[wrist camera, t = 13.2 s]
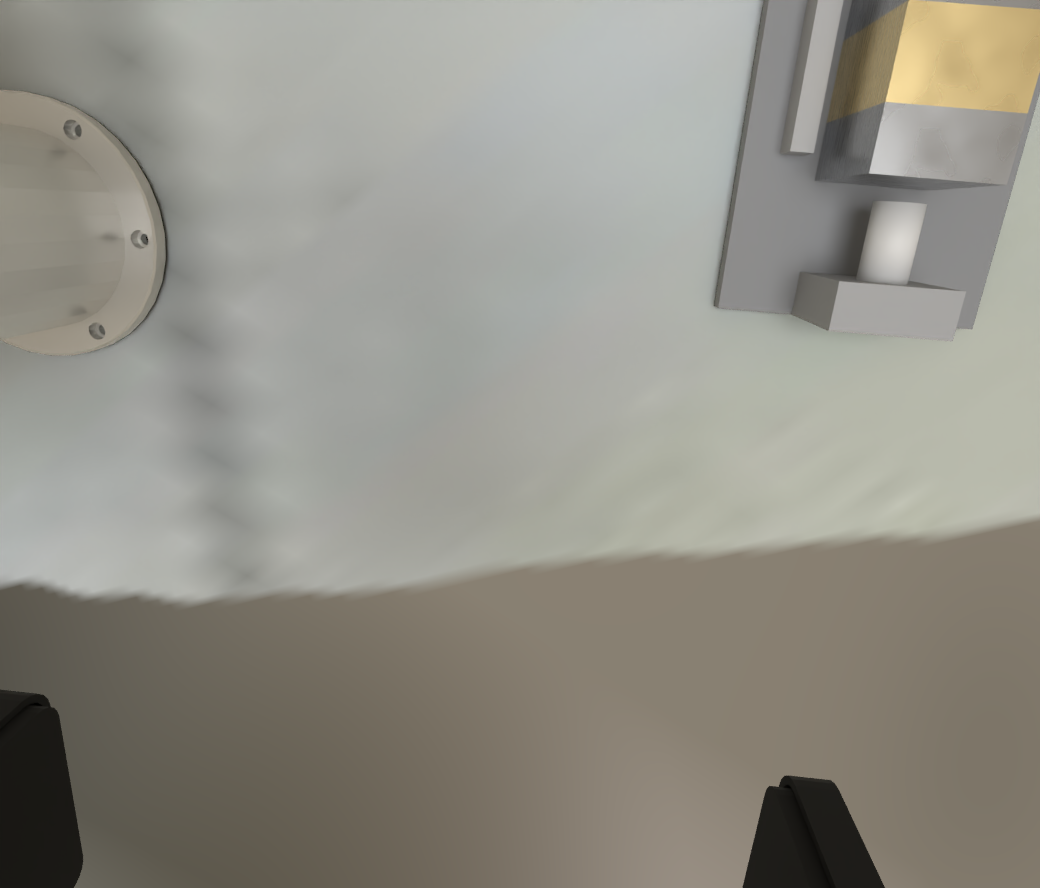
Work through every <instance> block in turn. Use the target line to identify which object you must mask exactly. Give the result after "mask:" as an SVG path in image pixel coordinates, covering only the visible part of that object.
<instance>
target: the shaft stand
mask: <svg viewBox="0 0 1040 888" xmlns="http://www.w3.org/2000/svg"><path fill="white" fill-rule="evenodd" d="M851 2H852V0H764V3H763V9H762V15H761V21H760V27H759V33H758V40H757V46H756V52H755V58H754V64H753V70H752V76H751V82H750V89H749V95H748V101H747V107H746V113H745V119H744V125H743V132H742V138H741V144H740V150H739V156H738V162H737V168H736V175H735V181H734V187H733V193H732V199H731V205H730V211H729V218H728V224H727V230H726V236H725V242H724V248H723V254H722V261H721V267H720V273H719V279H718V285H717V291H716V297H715V304H714V306H716V307H717V308H722V309H734V310H746V311H758V312H770V313H782V314H792V315H794V316H797V317H799V318H801V319H803V320H806V321H808V322H810V323H812V324H814V325H817V326H819V327H821V328H823V329H826V330H828V331H837V332H849V333H861V334H872V335H884V336H896V337H908V338H920V339H932V340H944V341H953V338H954V334H955V331H956V328H961V329H973V325H974V322H975V318H976V315H977V311H978V307H979V304H980V300H981V297H982V293H983V290H984V286H985V283H986V279H987V276H988V272H989V269H990V265H991V262H992V258H993V255H994V251H995V248H996V244H997V241H998V237H999V234H1000V230H1001V227H1002V223H1003V220H1004V216H1005V212H1006V209H1007V205H1008V202H1009V198H1010V195H1011V191H1012V188H1013V184H1014V181H1015V177H1016V174H1017V170H1018V167H1019V163H1020V160H1021V156H1022V153H1023V149H1024V146H1025V142H1026V139H1027V135H1028V132H1029V128H1030V125H1031V121H1032V118H1033V114H1034V110H1035V107H1036V103H1037V100H1038V96H1039V93H1040V73H1039V76H1038V79H1037V83H1036V86H1035V90H1034V93H1033V97H1032V100H1031V103H1030V107H1029V110H1028V114H1027V117H1026V121H1025V124H1024V128H1023V131H1022V134H1021V138H1020V141H1019V145H1018V148H1017V152H1016V155H1015V158H1014V162H1013V165H1012V169H1011V172H1010V176H1009V179H1008V182H1007V185H1001V186H986V187H972V188H957V189H943V190H929V191H925V190H913V189H902V188H890V187H879V186H867V185H855V184H844V183H832V182H821V181H815V176H816V171H817V166H818V161H819V157H820V152H821V147H822V142H823V137H824V132H825V128H826V123H827V118H828V113H829V108H830V104H831V99H832V94H833V89H834V84H835V79H836V75H837V70H838V65H839V60H840V55H841V50H842V46H843V41H844V36H845V31H846V26H847V21H848V17H849V12H850V7H851Z"/></svg>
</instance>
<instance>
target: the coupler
mask: <svg viewBox="0 0 1040 888" xmlns="http://www.w3.org/2000/svg"><path fill="white" fill-rule="evenodd" d="M1039 73H1040V0H852V2H851V7H850V12H849V17H848V21H847V26H846V31H845V36H844V41H843V46H842V50H841V55H840V60H839V65H838V70H837V75H836V79H835V84H834V89H833V94H832V99H831V104H830V108H829V113H828V118H827V123H826V128H825V132H824V137H823V142H822V147H821V152H820V157H819V161H818V166H817V171H816V176H815V181H821V182H832V183H844V184H855V185H867V186H879V187H890V188H902V189H913V190H925V191H929V190H943V189H957V188H972V187H986V186H1001V185H1007V182H1008V179H1009V176H1010V172H1011V169H1012V165H1013V162H1014V158H1015V155H1016V152H1017V148H1018V145H1019V141H1020V138H1021V134H1022V131H1023V128H1024V124H1025V121H1026V117H1027V114H1028V110H1029V107H1030V103H1031V100H1032V97H1033V93H1034V90H1035V86H1036V83H1037V79H1038V76H1039Z"/></svg>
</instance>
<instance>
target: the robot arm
mask: <svg viewBox="0 0 1040 888" xmlns="http://www.w3.org/2000/svg"><path fill="white" fill-rule="evenodd" d="M81 130H82V133H81ZM146 235H147V238H148V242H147V240H146ZM165 261H166V251H165V233H164V228H163V223H162V219H161V214H160V210H159V207H158V204H157V202H156V199H155V197H154V194H153V192H152V189H151V187H150V184H149V182H148V181H147V179H146V177H145V176H144V174H143V172H142V171H141V169H140V167H139V166H138V164H137V162H136V160H135V159H134V158H133V157H132V156H131V154H130V153H129V152H128V151H127V150H126V148H125V147H124V146H123V145H122V144H121V142H120V141H119V140H118V139H117V138H116V137H115V136H114V135H113V134H111V133H110V132H109V131H108V130H107V129H106V128H105V127H103V126H102V125H101V124H100V123H99V122H98V121H96V120H95V119H93V118H92V117H90V116H88V115H87V114H85V113H83V112H82V111H80V110H79V109H77V108H75V107H74V106H71V105H68V104H66V103H63V102H61V101H58V100H56V99H53V98H51V97H47V96H42V95H37V94H33V93H29V92H25V91H12V90H0V340H2V341H4V342H5V343H7V344H10V345H13V346H15V347H18V348H21V349H24V350H26V351H29V352H34V353H40V354H45V355H51V356H61V355H77V354H81V353H86V352H91V351H94V350H97V349H100V348H103V347H106V346H109V345H112V344H114V343H115V342H117V341H119V340H120V339H122V338H124V337H125V336H127V335H129V334H130V333H131V332H132V331H133V330H134V329H135V328H136V327H137V326H138V325H139V324H140V323H141V322H142V321H143V320H144V319H145V317H146V315H147V314H148V312H149V311H150V309H151V308H152V306H153V304H154V303H155V301H156V298H157V295H158V292H159V290H160V287H161V284H162V281H163V274H164V267H165ZM82 865H83V854H82V848H81V842H80V836H79V830H78V824H77V818H76V812H75V807H74V801H73V795H72V789H71V783H70V777H69V772H68V766H67V760H66V754H65V748H64V742H63V736H62V731H61V725H60V719H59V715H58V712H57V710H55V708H52V707H51V706H50V703H49V701H48V699H47V698H46V697H45V696H44V695H40V694H34V693H25V692H16V691H7V690H0V888H74V886H75V884H76V883H77V880H78V878H79V876H80V873H81V870H82ZM743 888H885V887H884V885H883V883H882V881H881V879H880V876H879V874H878V872H877V870H876V868H875V866H874V864H873V862H872V859H871V857H870V855H869V853H868V851H867V849H866V847H865V845H864V842H863V840H862V839H861V836H860V834H859V832H858V830H857V828H856V826H855V823H854V821H853V819H852V817H851V815H850V813H849V811H848V808H847V806H846V804H845V802H844V800H843V798H842V796H841V794H840V791H839V790H838V788H837V786H836V785H835V783H833V782H832V781H831V780H823V779H814V778H804V777H795V776H784V777H783V778H782V779H781V782H780V785H779V787H773V786H769V787H768V788H767V790H766V793H765V796H764V800H763V804H762V809H761V813H760V817H759V821H758V825H757V830H756V834H755V838H754V842H753V846H752V850H751V855H750V859H749V863H748V867H747V871H746V876H745V880H744V884H743Z"/></svg>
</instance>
